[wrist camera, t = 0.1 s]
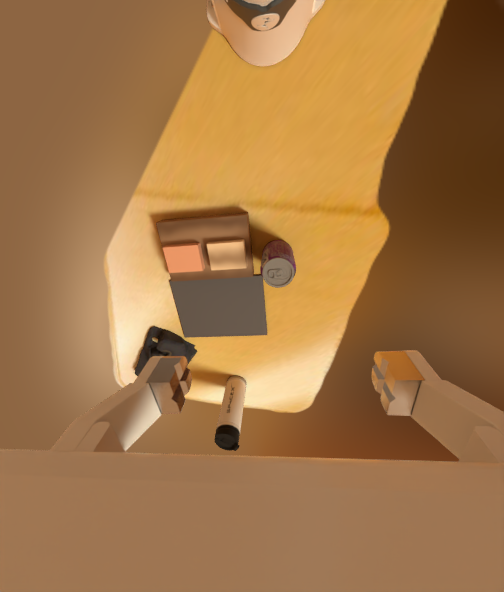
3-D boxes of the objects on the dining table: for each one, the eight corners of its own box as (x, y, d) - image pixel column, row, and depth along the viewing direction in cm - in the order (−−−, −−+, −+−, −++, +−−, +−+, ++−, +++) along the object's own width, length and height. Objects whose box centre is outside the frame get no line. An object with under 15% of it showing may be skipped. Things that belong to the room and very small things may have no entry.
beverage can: (266, 270, 60) (264, 292, 49) (259, 243, 57) (256, 260, 46) (295, 264, 58) (299, 286, 48) (289, 236, 55) (293, 251, 45)
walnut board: (162, 220, 56) (155, 223, 53) (248, 212, 54) (246, 215, 51) (176, 276, 62) (171, 281, 59) (254, 271, 60) (252, 276, 57)
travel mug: (241, 392, 80) (232, 455, 63) (223, 384, 79) (209, 445, 62) (250, 381, 78) (243, 443, 60) (232, 372, 76) (220, 433, 59)
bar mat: (170, 280, 63) (169, 280, 63) (262, 274, 60) (262, 275, 60) (185, 336, 71) (184, 337, 71) (267, 333, 68) (267, 335, 68)
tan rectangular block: (208, 241, 54) (206, 244, 52) (244, 239, 53) (243, 241, 51) (213, 267, 57) (211, 270, 55) (247, 265, 56) (246, 268, 54)
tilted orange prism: (166, 245, 55) (162, 247, 53) (200, 242, 54) (197, 245, 52) (172, 269, 58) (169, 273, 56) (205, 267, 57) (202, 270, 55)
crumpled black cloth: (130, 366, 80) (122, 377, 76) (154, 320, 70) (147, 330, 66) (172, 387, 83) (166, 398, 78) (201, 345, 73) (196, 356, 69)
